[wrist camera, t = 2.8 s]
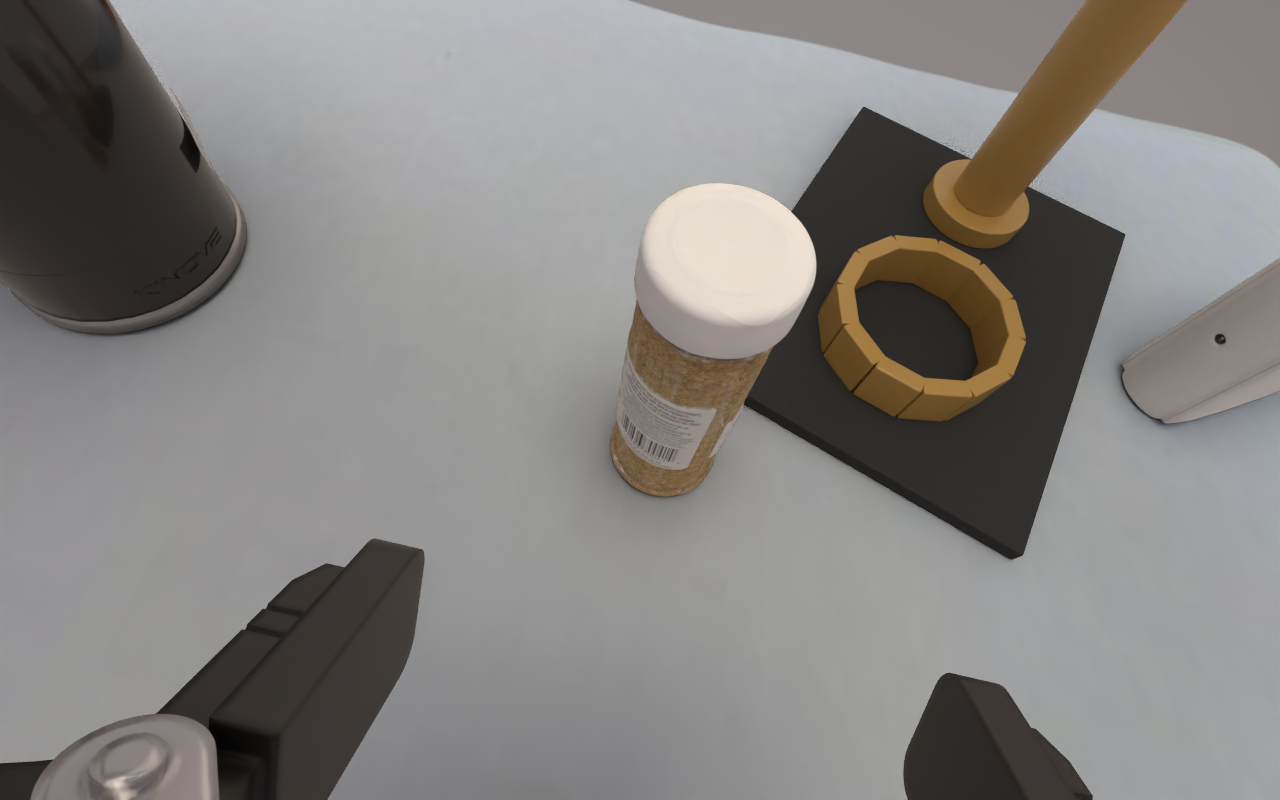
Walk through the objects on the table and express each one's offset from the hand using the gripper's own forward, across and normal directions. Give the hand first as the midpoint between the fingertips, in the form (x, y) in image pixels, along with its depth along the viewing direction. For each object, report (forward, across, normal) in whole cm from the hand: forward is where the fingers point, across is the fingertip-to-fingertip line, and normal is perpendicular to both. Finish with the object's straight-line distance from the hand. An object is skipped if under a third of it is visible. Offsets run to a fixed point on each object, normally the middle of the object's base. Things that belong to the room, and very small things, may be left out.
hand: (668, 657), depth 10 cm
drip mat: (+26, -12, -4) cm, 29 cm away
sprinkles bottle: (+18, 0, +4) cm, 19 cm away
